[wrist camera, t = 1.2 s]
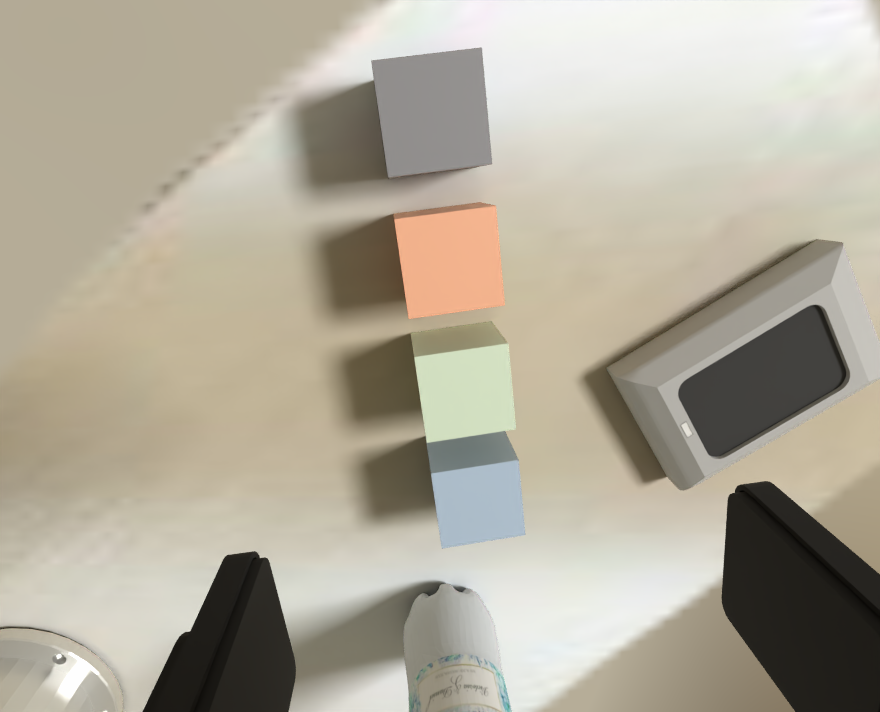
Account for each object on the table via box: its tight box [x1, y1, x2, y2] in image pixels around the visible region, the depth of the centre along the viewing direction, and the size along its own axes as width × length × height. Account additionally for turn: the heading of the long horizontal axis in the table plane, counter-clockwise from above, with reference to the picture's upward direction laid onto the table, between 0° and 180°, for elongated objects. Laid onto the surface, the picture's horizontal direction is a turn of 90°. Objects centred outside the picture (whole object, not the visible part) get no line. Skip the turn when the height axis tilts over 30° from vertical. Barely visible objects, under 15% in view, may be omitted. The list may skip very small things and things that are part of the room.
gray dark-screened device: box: [606, 239, 880, 490], centre depth 35 cm, size 10×4×15 cm
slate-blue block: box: [426, 431, 525, 548], centre depth 34 cm, size 5×5×5 cm
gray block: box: [371, 48, 492, 178], centre depth 28 cm, size 5×5×5 cm
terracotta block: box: [393, 202, 505, 319], centre depth 30 cm, size 5×5×5 cm
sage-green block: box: [411, 321, 516, 443], centre depth 32 cm, size 5×5×5 cm
